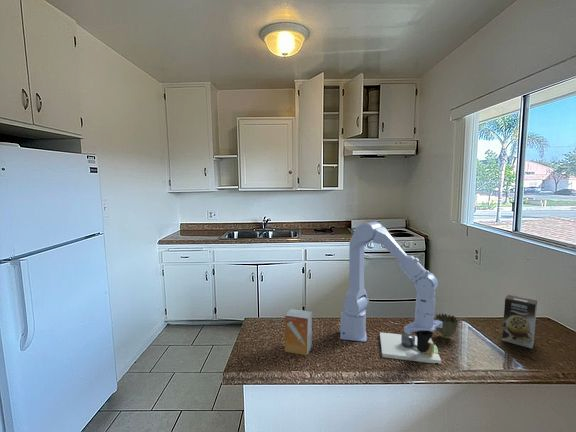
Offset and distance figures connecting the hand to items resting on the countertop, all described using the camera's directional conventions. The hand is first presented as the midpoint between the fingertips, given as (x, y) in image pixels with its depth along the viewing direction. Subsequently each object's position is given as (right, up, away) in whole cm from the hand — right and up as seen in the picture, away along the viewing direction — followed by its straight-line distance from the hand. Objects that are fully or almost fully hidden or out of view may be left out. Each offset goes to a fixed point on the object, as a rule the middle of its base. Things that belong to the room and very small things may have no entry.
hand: (421, 350), depth 104 cm
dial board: (-2, -2, +6) cm, 7 cm away
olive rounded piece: (+15, -1, +14) cm, 21 cm away
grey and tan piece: (0, -1, +3) cm, 3 cm away
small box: (-41, -2, +5) cm, 41 cm away
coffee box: (+40, -2, +11) cm, 42 cm away
